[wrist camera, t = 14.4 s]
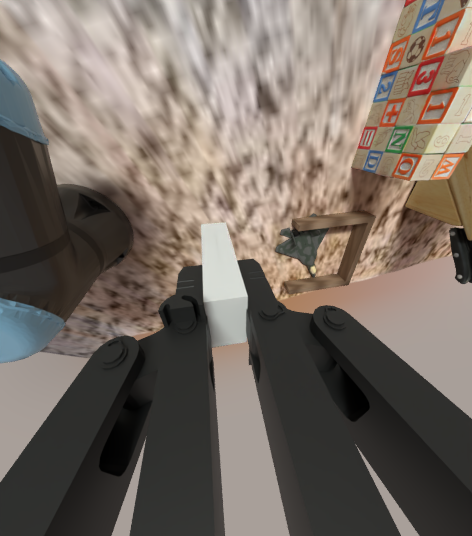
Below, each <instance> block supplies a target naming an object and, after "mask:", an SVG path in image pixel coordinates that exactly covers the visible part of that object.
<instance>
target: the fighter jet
mask: <svg viewBox="0 0 472 536" xmlns="http://www.w3.org/2000/svg"><path fill="white" fill-rule="evenodd" d="M315 216H317V215H316V214H314V213H313V214H312V215H311V216H309V217H315ZM328 229H329V228H321V229H313V230H305V231H298V230H297V229H296V230H295V231H293V230H292V231H290V228H287V229H283V230H281V233H280V234H281V235H284V236H286V237H289V238H290V239H288V240H287V241H285V242H283V243H282V244H280V245H279V246H277V247H276V252H279V253H282V254H285V255H288V256H291V257H294V258H298V259H299V260H300V261H301V262H302V264H304V265H306V266H307V267H308V269H309V272H310V274H311V275H312V277H315V273H316V267H315V264H314V261H315V259H316V255H317V249H318V247H319V245H320V243H321V242H322V240H323V238H324V236H325V234H326V233H327V231H328Z"/></svg>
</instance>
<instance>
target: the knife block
mask: <svg viewBox="0 0 472 536" xmlns="http://www.w3.org/2000/svg"><path fill="white" fill-rule="evenodd" d="M405 207H407V208H410V209H412V210H415V211H417V212H420V213H422V214H425V215H427V216H430V217H432V218H435V219H438V220H440V221H443V222H446V223H448V224H451V225H455V226H463V227H464V228H456V227H455V228H450V229H451V230H449V232H450V242H451V250H452V255H453V259H454V263H455V268H456V276H455V279H456V280H457V281H458V282H460V283H461V284H466V283H467V282H470V283H472V145H471V147H470V148H469V150H468V151H467V152H465V153H464V155H463V157H462V158H461V160H460V162H459V163H458V165H457V166H456V168H455V170H454V171H453V173H452V175H451V176H450V178H449V179H442V180H421V181H417V183H416V185H415V187H414V189H413V191H412V193H411V195H410V197H409V199H408V201H407V203H406V205H405Z"/></svg>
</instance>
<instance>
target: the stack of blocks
mask: <svg viewBox="0 0 472 536" xmlns="http://www.w3.org/2000/svg"><path fill="white" fill-rule="evenodd" d="M471 145H472V0H406V3H405V7H404V9H403V10H402V13H401V16H400V19H399V22H398V25H397V28H396V31H395V34H394V38H393V41H392V45H391V47H390V50H389V53H388V56H387V59H386V62H385V65H384V68H383V71H382V76H381V79H380V82H379V85H378V88H377V91H376V94H375V97H374V100H373V104H372V107H371V110H370V113H369V116H368V119H367V122H366V126H365V128H364V131H363V133H362V137H361V140H360V143H359V146H358V149H357V152H356V155H355V158H354V161H353V164H352V168H355V169H359V170H364V171H368V172H372V173H376V174H378V175H382V176H386V177H391V178H392V177H395V178H400V179H404V180H408V181H421V180H442V179H449V178H450V176H451V175H452V173H453V171H454V170H455V168H456V166H457V165H458V163H459V162H460V160H461V158H462V157H463V155H464V153H465V152H467V151H468V150H469V148H470V147H471Z"/></svg>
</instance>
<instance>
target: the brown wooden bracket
mask: <svg viewBox="0 0 472 536" xmlns="http://www.w3.org/2000/svg"><path fill="white" fill-rule="evenodd" d="M375 218H376V216H375V215H373V214H370V213H368V212H366V211H364V210H363V211H355V212H346V213H338V214H330V215H321V216H315V217H305V218H296V219H292V225H293V226H294V227H295V228H296V229H297V230H298V231H305V230H313V229H321V228H329V227H337V226H345V225H353V224H354V226H353V229H352V232H351V235H350V238H349V241H348V244H347V247H346V250H345V253H344V256H343V259H342V262H341V265H340V268H339V271H338V274H333V275H326V276H320V277H313V278H306V279H299V280H293V281H286V282H284V286H285V288H286V289H287V291H288V293H289V294H294V293H300V292H306V291H313V290H319V289H326V288H332V287H338V286H345V285H349V282H350V280H351V277H352V275H353V272H354V270H355V268H356V265H357V263H358V260H359V258H360V255H361V253H362V250H363V248H364V245H365V243H366V240H367V238H368V235H369V233H370V230H371V228H372V225H373V223H374V220H375Z"/></svg>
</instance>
